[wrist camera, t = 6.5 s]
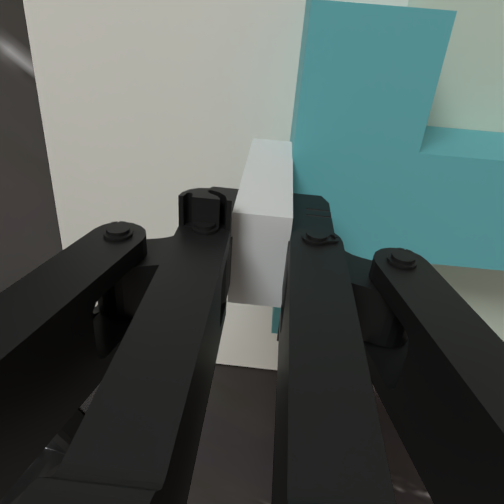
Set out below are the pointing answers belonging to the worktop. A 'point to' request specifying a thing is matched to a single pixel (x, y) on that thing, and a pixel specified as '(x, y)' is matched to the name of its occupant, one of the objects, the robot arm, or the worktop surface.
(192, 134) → the board
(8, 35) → the worktop surface
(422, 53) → the t block
